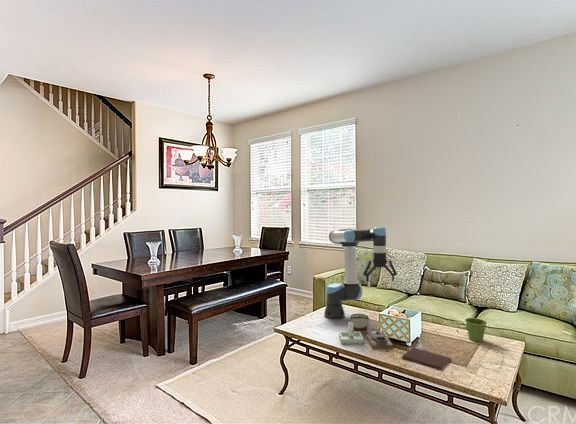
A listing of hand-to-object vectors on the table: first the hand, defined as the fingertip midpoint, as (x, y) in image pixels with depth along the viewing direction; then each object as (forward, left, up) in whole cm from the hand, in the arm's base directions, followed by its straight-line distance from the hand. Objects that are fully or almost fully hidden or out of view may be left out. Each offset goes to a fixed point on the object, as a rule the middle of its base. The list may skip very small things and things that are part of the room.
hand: (380, 286), depth 205 cm
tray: (+4, -19, -32) cm, 37 cm away
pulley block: (+8, -3, -32) cm, 33 cm away
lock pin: (+4, -19, -31) cm, 36 cm away
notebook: (+29, +17, -32) cm, 47 cm away
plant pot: (+4, +56, -32) cm, 65 cm away
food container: (-13, -11, -32) cm, 36 cm away
